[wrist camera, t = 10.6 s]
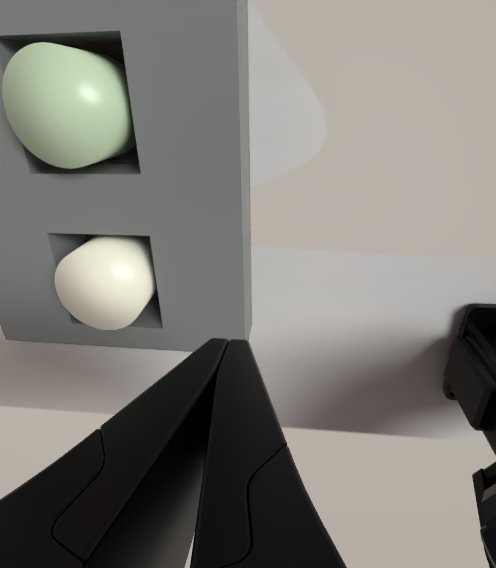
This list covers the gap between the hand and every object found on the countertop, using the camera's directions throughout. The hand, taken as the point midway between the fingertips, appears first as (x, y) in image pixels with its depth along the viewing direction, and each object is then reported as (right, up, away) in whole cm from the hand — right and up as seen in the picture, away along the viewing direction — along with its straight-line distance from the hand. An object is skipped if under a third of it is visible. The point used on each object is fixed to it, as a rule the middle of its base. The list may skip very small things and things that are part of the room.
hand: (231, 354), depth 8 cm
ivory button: (-6, +3, +13) cm, 14 cm away
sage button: (-7, +10, +9) cm, 15 cm away
